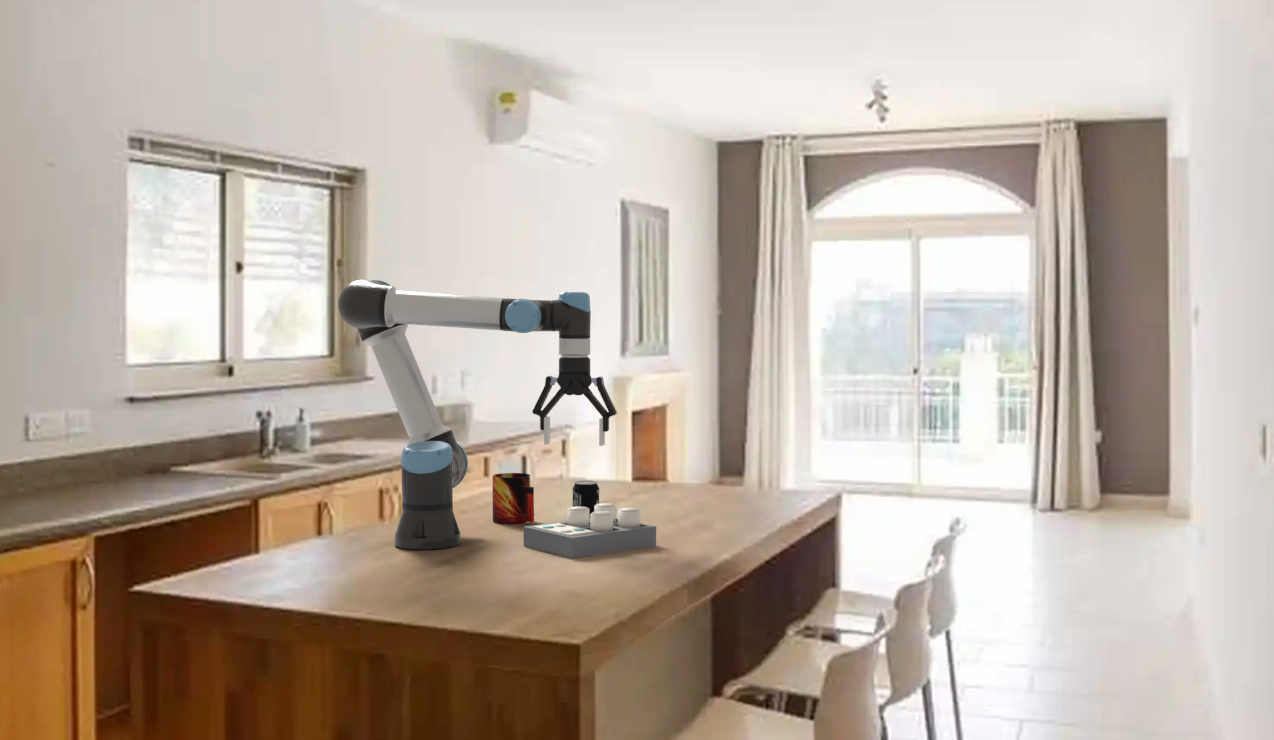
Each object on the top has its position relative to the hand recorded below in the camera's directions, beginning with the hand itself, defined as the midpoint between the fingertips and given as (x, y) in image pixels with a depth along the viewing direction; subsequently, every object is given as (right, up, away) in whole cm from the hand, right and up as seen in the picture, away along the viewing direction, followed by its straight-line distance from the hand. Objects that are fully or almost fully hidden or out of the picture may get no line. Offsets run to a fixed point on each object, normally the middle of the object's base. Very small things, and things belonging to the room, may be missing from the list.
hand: (574, 444), depth 306 cm
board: (+4, -23, -12) cm, 26 cm away
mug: (-15, -21, +21) cm, 34 cm away
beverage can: (+2, -22, +9) cm, 24 cm away
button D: (+13, -20, -11) cm, 26 cm away
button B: (+8, -19, -4) cm, 21 cm away
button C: (+7, -20, -16) cm, 26 cm away
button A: (+1, -20, -9) cm, 21 cm away
